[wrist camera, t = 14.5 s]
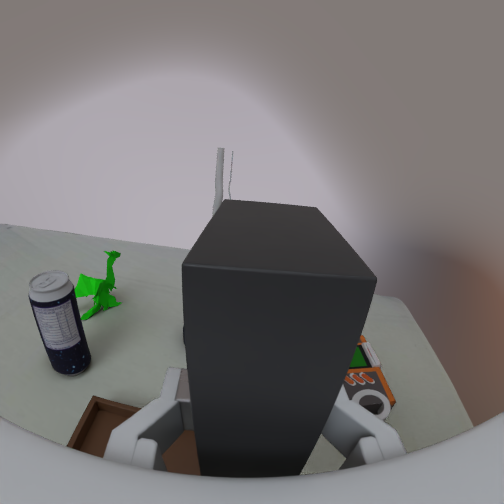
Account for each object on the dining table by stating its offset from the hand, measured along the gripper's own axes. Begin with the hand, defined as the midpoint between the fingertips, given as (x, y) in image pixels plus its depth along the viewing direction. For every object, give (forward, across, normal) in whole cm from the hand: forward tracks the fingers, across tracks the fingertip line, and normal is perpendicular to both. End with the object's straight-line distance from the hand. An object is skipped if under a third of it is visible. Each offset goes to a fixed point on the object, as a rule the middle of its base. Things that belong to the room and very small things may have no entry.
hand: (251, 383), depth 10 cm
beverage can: (+15, +21, +17) cm, 31 cm away
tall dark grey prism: (-1, 0, +8) cm, 8 cm away
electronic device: (+15, -14, +17) cm, 27 cm away
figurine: (+29, +22, +17) cm, 40 cm away
